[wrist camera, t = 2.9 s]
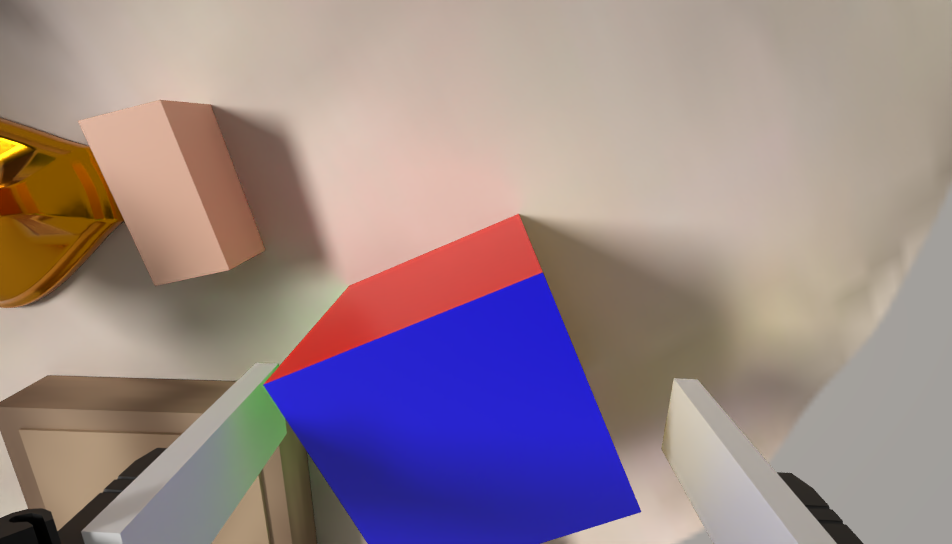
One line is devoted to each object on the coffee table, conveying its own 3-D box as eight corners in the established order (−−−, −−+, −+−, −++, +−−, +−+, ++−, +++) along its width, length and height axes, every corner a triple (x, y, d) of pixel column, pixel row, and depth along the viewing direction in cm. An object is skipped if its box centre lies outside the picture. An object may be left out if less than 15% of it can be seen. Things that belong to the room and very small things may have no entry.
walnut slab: (105, 565, 25) (62, 614, 22) (47, 375, 21) (-13, 408, 18) (320, 572, 25) (301, 623, 22) (298, 383, 21) (273, 417, 18)
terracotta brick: (267, 249, 19) (229, 269, 16) (203, 263, 19) (154, 286, 17) (213, 104, 17) (159, 100, 15) (143, 122, 18) (77, 120, 15)
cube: (518, 213, 18) (542, 272, 11) (583, 370, 21) (641, 511, 13) (349, 285, 19) (262, 384, 12) (427, 427, 22) (397, 588, 14)
